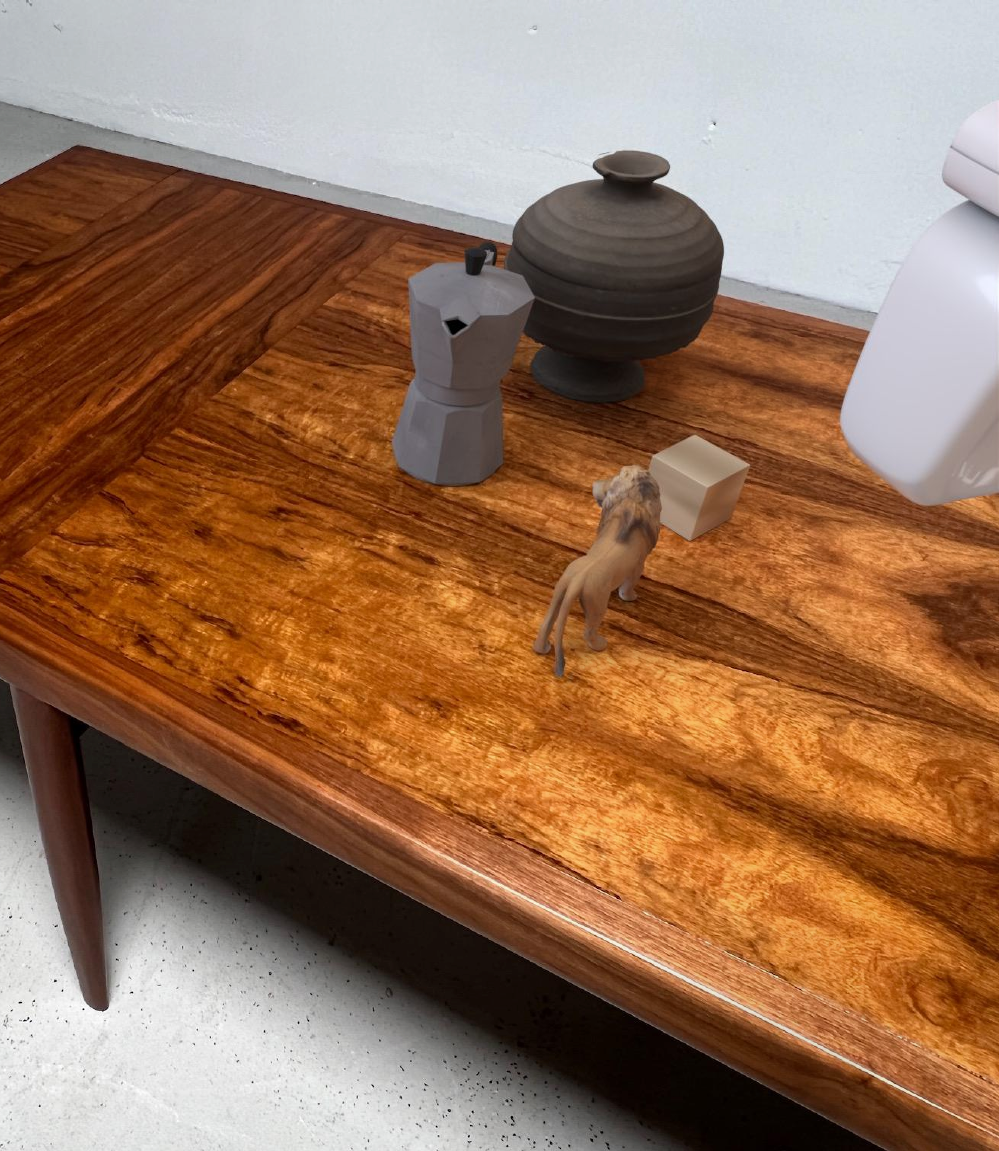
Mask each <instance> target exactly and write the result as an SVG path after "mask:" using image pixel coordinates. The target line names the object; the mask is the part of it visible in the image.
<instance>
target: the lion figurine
mask: <svg viewBox="0 0 999 1151" xmlns="http://www.w3.org/2000/svg"><path fill="white" fill-rule="evenodd" d="M659 490H660V487H659V485H658V483H657V481H656V480H655V479H654V478H653V477H652V476H651V475H650V472H649V471H648V469H646V468H644V467H642V466H640V465H638V464H632V465H624V466H622V467H621V469H620V471H619V474H615V475H613V476H611V477H610V478H604V479H598V480H595V481H593V482H592V496H593V497H594V499H595V500H596V503H597V506H598V507H600V508H602V510H601V513H600V519H599V521H598V522H599V523H598V526H597V532H596V537H595V539H594V541H593V543H592V545H591V547H590V548H589V550H588V551H587V553H586V555H583V556H580V557H577V558H576V559H575V560H572V561H571V562H570V563H569V564H567V567H566V569H565V570H564V572H563V573H562V574H561V576H560V578H559V580H558V581H557V583H556V585H555V587H554V589H553V594H552V597H551V600H550V604H549V606H548V608H547V612H546V614H545V616H544V618H543V620H542V622H541V623H540V625H539V627H538V630H537V637H536V639H535V641H534V642H533V646H532V650H533V651H534V652H537V653H538V654H541V655H542V654H547V653H549V652H550V650H551V648H552V642H551V641H550V640H549V639H550V637H551V634H552V632H553V628H554V636H553V638H554V639H553V642H554V644H553V645H554V655H555V659H554V660H555V662H554V665H553V670H554V673H555V675H556V676H557V677H563V675H564V674H565V666H566V658H565V656H564V647H563V643H564V642H563V641H564V633H565V629H566V624H567V621H568V616H569V614H570V611H571V609H572V606H573V604H574V602H575V601H578V602H579V605H580V607H581V609H582V612H583V614H584V617H585V621H586V628H585V629H584V631H583V636H582V638H583V639H584V640H585V641H586V643H587V645H588V646H589V647H590V649H592V650H595V651H604V650H605V649H606V648H607V646H608V641H607V638H605V636H603V635H600V634H598V632H599V628H600V626H601V624H602V622H603V620H604V618H605V616H606V613H607V611H608V604H609V600H610V597H611V594H612V592H613V591H615V590H617V589H618V596H619V598H621V599H622V600H623V601H626V602H634V601H636V599H637V598H638V594H637V592H636V591H635V587H637V585H638V583H639V581H640V578H641V576H642V575H643V573H644V571H645V562H646V560H647V558H648V556H649V555H650V554H651V553H652V551H653V550H654V549H656V548H655V547H656V546H657V543H658V541H659V535H660V532H661V523H660V513H661V510H662V505H661V500H660V491H659ZM554 626H555V627H554Z"/></svg>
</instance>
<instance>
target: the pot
mask: <svg viewBox="0 0 999 1151" xmlns="http://www.w3.org/2000/svg"><path fill="white" fill-rule="evenodd" d="M609 153H610V151H607V152H603V153H600V154H598V156H601V155H604V156H602V157H599V158H597V159H595V160H594V161H593V162H592V169H593V170H594V171H595V172H596V173H597V174H598V175H599V176H602V178H598V179H595V178H594V179H587V180H583V181H578V182H575V183H570V184H567V185H563V186H560V187H558V188H555V189H554V190H552V191H551V192H549V193H547V194H545V195H543V196H542V197H540V198H538V200H536V201H535V202H534V203H532V204H530V206H528V207H527V208H526V209H525V211H524V212H523V213H522V215H520V217H519V218H518V219H517V220H516V222H515V224H514V227H513V230H512V234H511V235H512V237H511V238H512V239H511V240H512V241H511V246H510V249H508V251H506V254H505V256H504V260H503V269H504V270H507V271H510V272H513V273H516V274H519V275H522V276H523V277H524V279H525V281H526V282H527V284H528V286H529V288H530V290H531V291H532V293H533V295H534V297H535V300H534V302H533V304H532V307H531V310H530V313H529V316H528V319H527V321H526V324H525V327H524V330H523V333H522V334H524V336H525V337H527V338H529V339H532V341H534V343H535V344H540V345H542V347H540V348H539V350H538V351H537V352H536V353H535V354H534V356H532V359H531V361H530V375H531V376H532V378H533V380H534V381H537V383H538V384H539V386H542V387H543V388H545V389H546V390H548V391H550V392H551V393H554V394H557V395H558V396H561V397H564V398H566V399H570V400H572V401H573V400H576V401H579V402H583V403H584V402H585V403H596V404H607V403H617V402H621V401H626V400H628V399H631V398H633V397H635V396H637V395H638V394H640V393H641V392H642V391H643V390H644V388H645V381H646V373H645V371H644V368H643V365H642V364H641V363H640V362H639V361H644V360H649V359H656V358H660V357H662V356H667V355H671V354H672V353H675V352H677V351H680V349H683V348H687V347H688V346H689V345H690V344H691V343H693V342H695V341H696V340H697V339H698V338H699V336H700V334H701V333H702V331H703V328H704V326H705V325H706V323H707V322H709V320H710V318H711V317H712V315H713V312H714V305H715V300H716V298H717V297H718V294H719V290H720V282H721V277H722V271H723V260H724V257H725V246H724V239H723V236H722V234H721V233H720V231H719V229H718V227H717V225H716V223H715V222H714V220H713V219H711V217H710V216H709V214H708V213H707V212H706V211H705V210H704V209H703V208H702V207H701V206H699V205H698V204H697V202H695V201H694V200H693V199H692V198H691V197H689V196H687V195H685V194H683V193H682V192H679V191H677V190H675V189H674V188H671V187H669V186H667V185H665V184H661V183H657V182H655V181H657V180H659V179H663V178H664V177H666V176H668V175H669V172H670V170H671V164H670V163H669V162H670V161H668V159H666V158H664V157H663V156H661V155H658V154H656V153H652V152H647V151H641V150H632V149H631V150H629V149H627V150H626V149H623V150H616V151H615V152H614V153H611V154H609ZM638 360H639V361H638Z"/></svg>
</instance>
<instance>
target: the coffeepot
mask: <svg viewBox="0 0 999 1151" xmlns="http://www.w3.org/2000/svg"><path fill="white" fill-rule="evenodd" d="M497 260H498V249H497V245H496V244H495V243H493V242H492V241H485V242H481V244H479V245H478V247H468V248H466V249H465V250H464V262H463V261H461V262H459V261H458V262H434V263H433V264H431V265H429V266H428V267H426V268H424V269H423V270H421V271H419V272H417V273H415V274H413V275H412V276H410V277H408V278H407V282H408V301H409V303H408V304H409V324H410V326H409V328H410V347H411V359H412V363H413V366H414V369H415V371H414V372H415V373H414V377H413V379H412V380H411V381H410V383H409V384H408V385H409V386H408V387H407V388H408V389H407V392H406V395H405V398H404V402H403V404H402V408H401V411H400V415H399V417H398V421H397V424H396V427H395V431H394V434H393V436H392V440H391V445H392V448H393V456H394V459H395V461H396V464H397V466H398V468H400V469H401V470H402V471H404V472H405V473H407V474H408V475H410V476H411V477H413V478H415V479H417V480H420V481H422V482H425V483H429V484H432V485H437V486H444V487H462V486H469V485H474V484H475V485H476V484H478V483H481V482H483V481H485V480H487V479H488V478H490V477H492V475H494V473H496V471H497V470H498V468H499V467H501V466H502V465H503V464H504V427H503V426H504V421H503V397H502V396H503V395H502V392H501V389H500V388H501V380H502V379H503V378H505V376H507V375H508V374H509V372H510V369H511V367H512V364H513V361H514V358H515V355H516V353H517V349H518V347H519V344H520V341H521V339H522V335H523V334H524V333H523V330H524V327H525V324H526V321H527V319H528V316H529V313H530V310H531V307H532V304H533V302H534V300H535V297H534V295H533V293H532V291H531V290H530V288H529V286H528V284H527V282H526V281H525V279H524V277H523V276H522V275H519V274H516V273H513V272H510V271H507V270H504V268H501V267H499V266H496V264H497Z"/></svg>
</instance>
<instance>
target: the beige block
mask: <svg viewBox="0 0 999 1151" xmlns="http://www.w3.org/2000/svg"><path fill="white" fill-rule="evenodd" d="M750 467H751V464H750V463H748V462H746V461H744V460H743V459H741V458H739V457H737V456H735V455H733V454H731V453H730V452H728V451H726V450H724V449H723V448H721V447H718V445H717V446H716V445H715V444H713V443H711V442H710V441H708V440H706V439H704V438H702V437H700V436H698V435H697V434H693V435H691V436H689V437H687V438H685V439H683V440H681V441H679V442H676V443H675V444H673V445H671V446H669V447H667V448H665V449H663V450H661V451H659V452H657V453H655V454H653V455H651V458H650V462H649V465H648V469H647V471H649V472H650V475H651V476H652V477H653V478H654V479H655V480H656V481H657V483H658V485H659V487H660V490H659V491H660V500H661V505H662V510H661V513H660V525H663V526H665V527H666V528H668V529H669V530H670V531H672V532H674V533H676V534H677V535H678V536H681V537H682V538H684V539H685V540H687V541H689V542H691V541H693V540H695V539H697V538H699V537H700V536H703V535H704V534H706V533H707V532H709V531H711V530H713V529H715V528H717V527H718V526H721V525H722V524H724V523H726V522H727V521H729V520H731V519H732V518H733V515H734V513H735V510H736V507H737V504H738V501H739V498H740V495H741V493H742V490H743V487H744V484H745V482H746V479H747V477H748V474H749V471H750Z"/></svg>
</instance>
